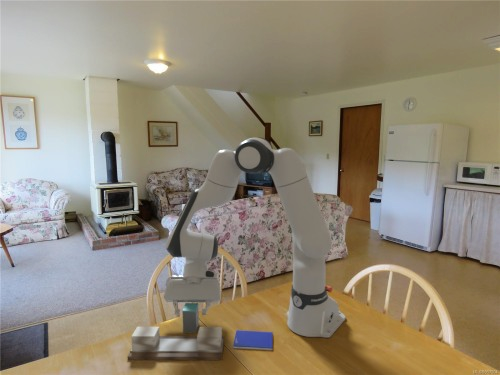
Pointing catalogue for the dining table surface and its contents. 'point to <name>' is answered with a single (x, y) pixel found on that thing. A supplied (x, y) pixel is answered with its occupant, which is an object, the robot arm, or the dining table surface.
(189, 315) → the block
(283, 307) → the dining table surface
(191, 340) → the board
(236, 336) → the hard drive
